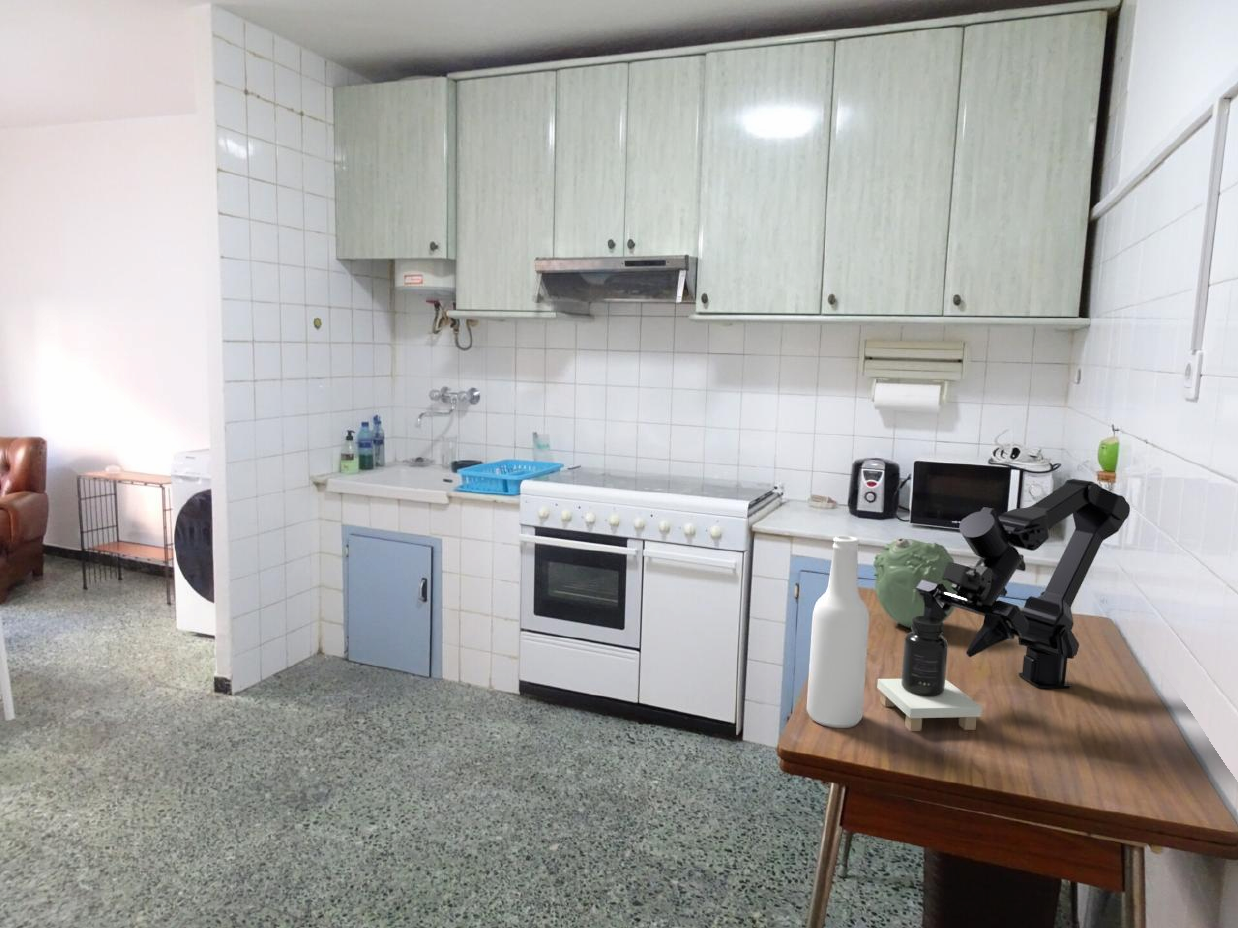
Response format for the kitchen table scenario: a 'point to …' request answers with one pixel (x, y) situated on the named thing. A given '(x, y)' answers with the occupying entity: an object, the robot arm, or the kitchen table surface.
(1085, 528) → the robot arm
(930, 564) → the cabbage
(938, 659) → the supplement bottle
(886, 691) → the white square riser
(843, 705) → the alcohol
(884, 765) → the kitchen table surface
